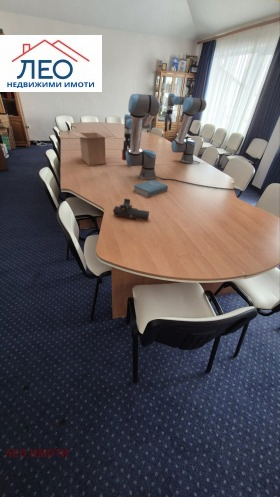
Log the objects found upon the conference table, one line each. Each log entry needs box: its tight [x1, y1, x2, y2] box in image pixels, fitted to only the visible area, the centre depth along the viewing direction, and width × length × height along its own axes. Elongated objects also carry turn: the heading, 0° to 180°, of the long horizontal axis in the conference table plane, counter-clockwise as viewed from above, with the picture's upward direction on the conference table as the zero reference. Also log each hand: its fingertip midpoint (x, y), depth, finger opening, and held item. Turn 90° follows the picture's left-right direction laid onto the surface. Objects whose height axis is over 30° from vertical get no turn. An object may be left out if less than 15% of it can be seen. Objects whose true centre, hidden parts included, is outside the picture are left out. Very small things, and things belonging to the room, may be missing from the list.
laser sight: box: [112, 198, 150, 221], centre depth 138 cm, size 10×22×10 cm, turn 78°
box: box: [70, 129, 114, 166], centre depth 229 cm, size 44×36×27 cm
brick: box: [121, 148, 128, 161], centre depth 224 cm, size 7×8×10 cm
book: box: [133, 179, 169, 198], centre depth 177 cm, size 23×16×5 cm
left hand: (127, 157), depth 226 cm, fingers closed on brick, 7 cm apart
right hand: (167, 130), depth 265 cm, fingers open, 13 cm apart
